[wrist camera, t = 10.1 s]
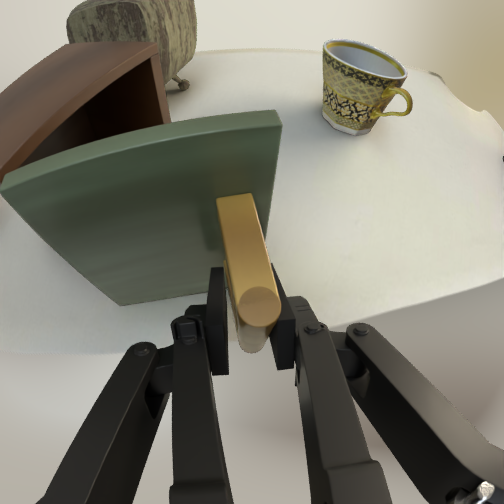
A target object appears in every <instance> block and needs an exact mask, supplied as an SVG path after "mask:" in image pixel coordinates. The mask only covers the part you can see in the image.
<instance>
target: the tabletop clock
mask: <svg viewBox="0 0 504 504" xmlns="http://www.w3.org/2000/svg"><path fill="white" fill-rule="evenodd" d="M66 28H67V36H68V39H69V44H72V43H85V42H106V41H136V42H156V43H157V46H158V53H159V58H160V64H161V70H162V76H163V81H164V84H166V83H167V82H168V81H169V80H170V79H171V78H172V79H173V80H175V81H176V82H178V83H179V84H178V86H179V89H181V90H186V89H188V88H189V85H190V84H189V81H187V80H185V79H184V80H181V79H180V78H179V77H178V76H177V75H176V73H177V72H179V71H180V70H181V69H182V68H183V67H184V66H185V65H186V64H187V63H188V62H189V61H190V60H191V59H192V57H193V55H194V52H195V48H196V41H197V38H196V37H197V19H196V12H195V5H194V0H87V1H85V2H82V3H81V4H79V5H78V6H77V7H75V8H74V9H73V10H72V11H71V13H70V15H69V17H68V19H67V26H66Z"/></svg>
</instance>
